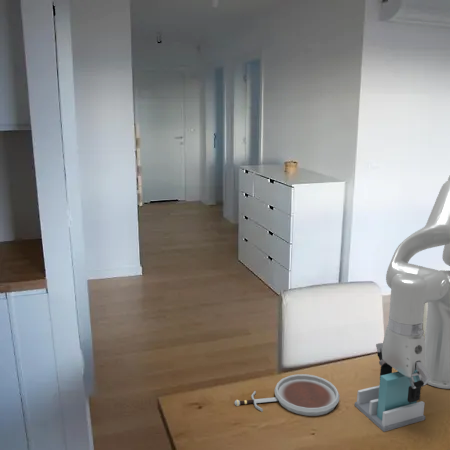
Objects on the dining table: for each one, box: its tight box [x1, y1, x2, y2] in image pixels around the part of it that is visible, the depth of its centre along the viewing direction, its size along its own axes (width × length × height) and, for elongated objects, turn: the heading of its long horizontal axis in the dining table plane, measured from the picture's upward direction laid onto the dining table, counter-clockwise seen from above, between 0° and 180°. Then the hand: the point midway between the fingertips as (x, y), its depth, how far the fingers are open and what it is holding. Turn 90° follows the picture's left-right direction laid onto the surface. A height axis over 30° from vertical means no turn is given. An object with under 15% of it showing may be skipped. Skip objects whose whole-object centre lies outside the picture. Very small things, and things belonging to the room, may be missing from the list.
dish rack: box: [354, 384, 426, 433], centre depth 119 cm, size 13×11×4 cm
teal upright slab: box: [377, 371, 418, 420], centre depth 116 cm, size 10×2×11 cm, turn 112°
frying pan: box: [234, 373, 340, 417], centre depth 125 cm, size 17×3×28 cm
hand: (398, 390), depth 116 cm, fingers open, 9 cm apart
